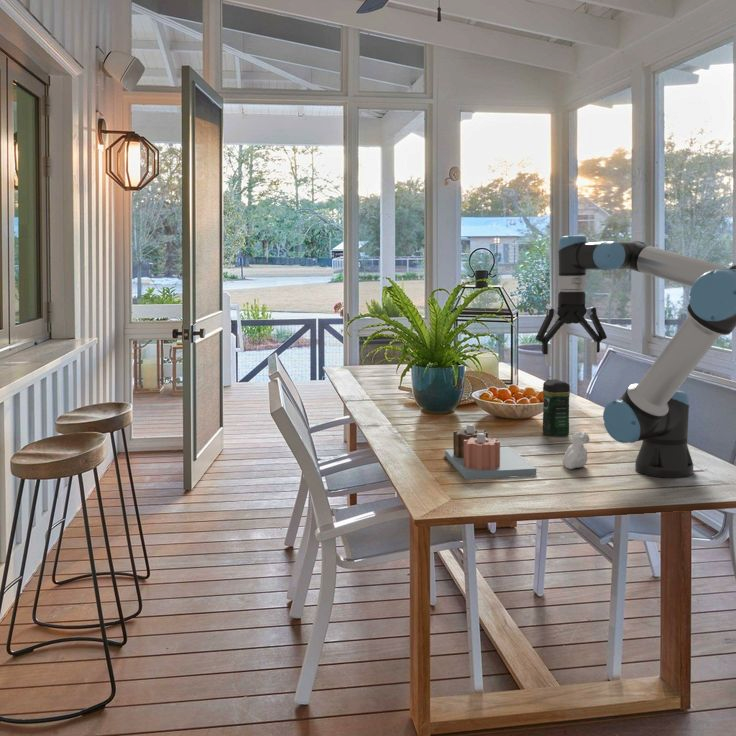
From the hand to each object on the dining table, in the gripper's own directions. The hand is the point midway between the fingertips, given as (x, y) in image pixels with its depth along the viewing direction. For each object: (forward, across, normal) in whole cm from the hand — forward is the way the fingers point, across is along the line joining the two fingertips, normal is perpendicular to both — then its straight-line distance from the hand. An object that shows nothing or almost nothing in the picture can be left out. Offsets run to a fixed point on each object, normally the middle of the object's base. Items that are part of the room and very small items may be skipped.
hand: (570, 364), depth 228 cm
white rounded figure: (+29, 0, -5) cm, 29 cm away
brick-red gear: (+27, -28, -6) cm, 39 cm away
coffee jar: (+29, +9, +36) cm, 47 cm away
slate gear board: (+29, -24, +1) cm, 37 cm away
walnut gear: (+27, -28, +6) cm, 39 cm away
